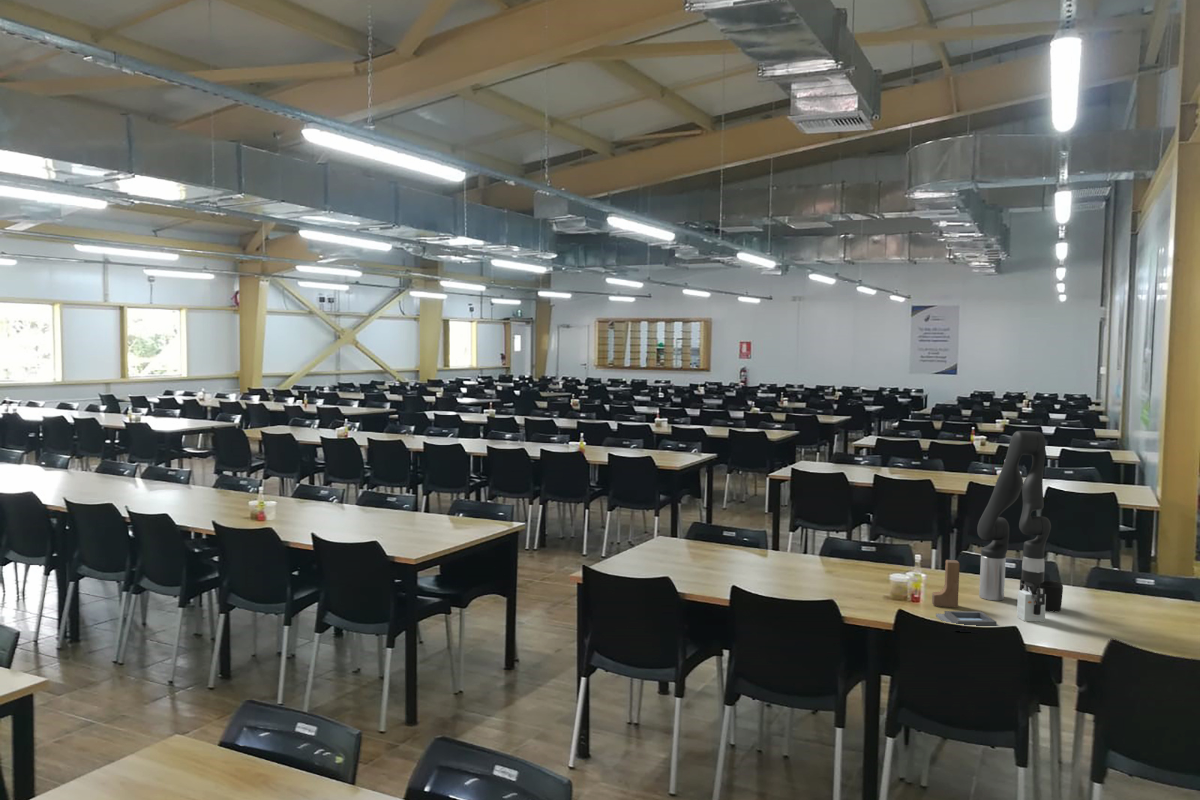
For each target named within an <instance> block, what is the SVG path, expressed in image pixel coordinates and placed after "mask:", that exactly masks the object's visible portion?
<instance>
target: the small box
mask: <svg viewBox="0 0 1200 800" xmlns="http://www.w3.org/2000/svg"><path fill="white" fill-rule="evenodd" d="M1034 596H1037V595H1034ZM1041 601H1042V598H1041ZM1036 602H1037V599H1036ZM1045 603H1046V594H1045ZM1016 605H1017V606H1016V607H1017V608H1016V611H1017V612H1016V618H1018V619H1019V620H1021V621H1023V622H1025V621H1040V622H1045V621H1046V611H1045V605H1041V613H1040V615H1035V614H1034V605H1035V604H1034V601H1033V599H1031V594H1030V592H1028V591H1025V590H1023V589H1022V590H1020V589H1019V590H1017V604H1016Z"/></svg>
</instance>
